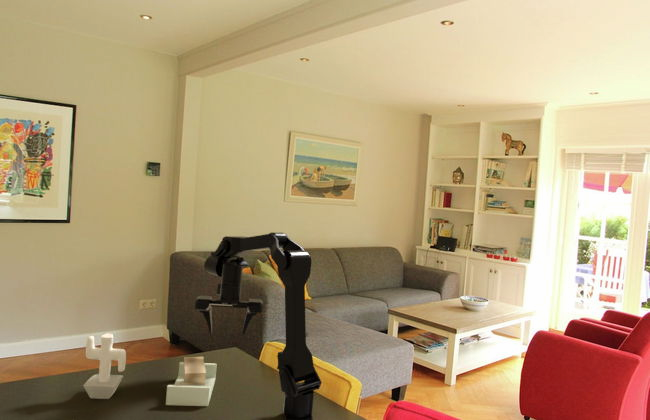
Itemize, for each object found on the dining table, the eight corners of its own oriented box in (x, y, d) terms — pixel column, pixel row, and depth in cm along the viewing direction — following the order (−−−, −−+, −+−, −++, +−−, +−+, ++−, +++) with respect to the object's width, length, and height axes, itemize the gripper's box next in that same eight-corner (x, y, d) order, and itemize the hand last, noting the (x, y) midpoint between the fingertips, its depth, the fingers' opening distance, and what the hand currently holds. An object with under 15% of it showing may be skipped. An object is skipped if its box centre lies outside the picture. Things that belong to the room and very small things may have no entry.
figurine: (118, 401, 114) (122, 340, 114) (76, 400, 113) (81, 338, 113) (127, 389, 122) (131, 331, 121) (88, 388, 120) (93, 329, 120)
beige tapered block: (202, 367, 130) (203, 356, 130) (204, 384, 119) (205, 373, 119) (183, 367, 129) (184, 357, 129) (184, 385, 117) (185, 373, 117)
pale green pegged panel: (215, 379, 133) (216, 363, 133) (207, 406, 116) (209, 388, 116) (178, 378, 132) (180, 362, 132) (165, 404, 115) (167, 386, 115)
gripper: (264, 277, 145) (260, 327, 146) (202, 273, 143) (197, 324, 143) (264, 283, 134) (259, 338, 135) (196, 279, 132) (192, 335, 132)
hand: (227, 333), depth 136 cm, fingers open, 9 cm apart
